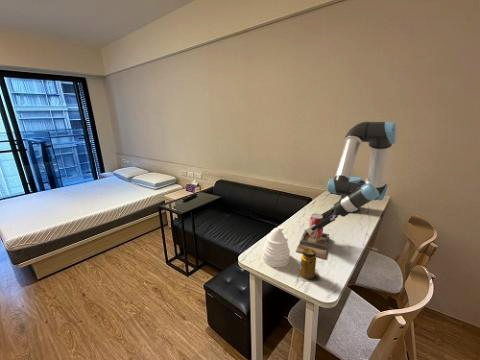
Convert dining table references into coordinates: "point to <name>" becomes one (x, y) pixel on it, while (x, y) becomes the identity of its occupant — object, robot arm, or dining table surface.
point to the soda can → (315, 219)
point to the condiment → (309, 266)
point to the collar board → (314, 244)
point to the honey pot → (276, 249)
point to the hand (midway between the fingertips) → (309, 228)
